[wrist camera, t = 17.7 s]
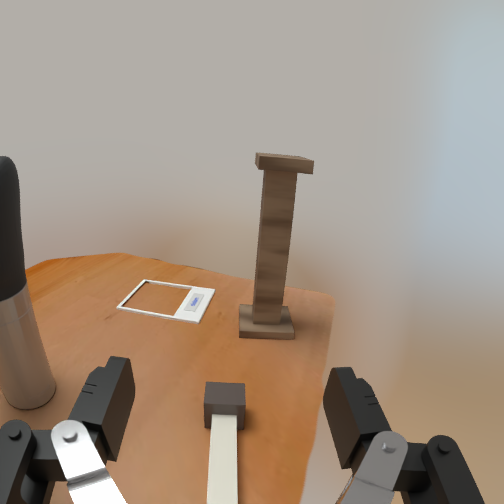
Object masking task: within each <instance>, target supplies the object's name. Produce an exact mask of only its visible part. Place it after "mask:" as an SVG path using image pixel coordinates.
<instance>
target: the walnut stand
mask: <svg viewBox="0 0 504 504" xmlns="http://www.w3.org/2000/svg"><path fill="white" fill-rule="evenodd" d="M255 164H256V166H257V168H258V169H260V170H264V177H263V188H262V200H261V213H260V225H259V237H258V248H257V260H256V272H255V273H256V274H255V284H254V296H253V305H244V304H240V307H239V338H260V339H294V329H293V325H292V321H291V317H290V314H289V310H288V306H282V304H283V296H284V288H285V280H286V272H287V263H288V255H289V247H290V238H291V229H292V220H293V211H294V202H295V192H296V181H297V173H305V174H313V166H314V161H312V160H309V159H306V158H303V157H299V156H288V155H278V154H267V153H256V158H255Z"/></svg>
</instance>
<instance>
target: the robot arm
mask: <svg viewBox="0 0 504 504" xmlns="http://www.w3.org/2000/svg"><path fill="white" fill-rule="evenodd" d="M0 387H1V389H2V391H3V393H4V395H5V397H6V399H7V401H8V402H9V403H10V404H11V405H12V406H14V407H16V408H19V409H34V408H37V407H40V406H42V405H43V404H45V403H46V402H48V401H49V400H50V399H51V397H52V396H53V394H54V392H55V388H56V385H55V381H54V378H53V375H52V372H51V369H50V366H49V363H48V360H47V357H46V354H45V350H44V347H43V344H42V340H41V337H40V333H39V330H38V326H37V322H36V319H35V315H34V311H33V307H32V302H31V298H30V294H29V289H28V284H27V279H26V274H25V266H24V251H23V242H22V232H21V217H20V189H19V179H18V174H17V170H16V167H15V164H14V163H13V161H12V160H11V159H10V158H9V157H6V156H0ZM81 391H82V392H80V395H79V397H78V399H77V401H76V403H75V405H74V407H73V409H72V412H71V414H70V416H69V418H68V420H65V421H62V422H60V423H58V424H57V425H56V426H55V427H54V428H53V429H52V430H31V429H30V427H29V425H28V424H27V423H25V422H24V421H21V420H11V421H8V422H6V423H5V424H4V425H3V426H2V427H1V429H0V504H49V503H50V499H51V496H52V492H53V488H54V485H55V481H68V483H67V487H68V490H69V492H70V494H71V496H72V499H73V501H74V503H75V504H126V502H125V501H124V499H123V497H122V496H121V494H120V492H119V491H118V489H117V487H116V485H115V484H114V482H113V480H112V478H111V477H110V475H109V473H108V471H107V470H106V468H105V466H106V463H107V460H110V461H115V462H116V461H117V457H118V453H119V450H120V446H121V443H122V439H123V435H124V432H125V429H126V425H127V422H128V418H129V415H130V412H131V408H132V405H133V402H134V398H135V383H134V378H133V373H132V367H131V362H130V359H129V358H123V357H115V356H111V357H110V358H109V360H108V362H107V364H106V366H105V367H97V368H96V369H95V370H94V371H92V372H91V373H90V374H89V376H88V378H87V380H86V382H85V385H84V386H83V388H82V390H81ZM323 405H324V410H325V413H326V417H327V420H328V424H329V427H330V430H331V434H332V437H333V441H334V444H335V448H336V451H337V454H338V458H339V461H340V465H341V468H342V469H348V468H351V469H352V472H353V474H352V476H351V477H350V479H349V481H348V483H347V485H346V486H345V488H344V490H343V492H342V493H341V495H340V497H339V498H338V500H337V502H336V503H335V504H390V503H391V501H392V499H393V497H394V491H400V492H401V496H402V499H403V502H404V504H485V503H484V501H483V498H482V496H481V494H480V492H479V489H478V487H477V485H476V483H475V481H474V479H473V476H472V474H471V472H470V470H469V468H468V466H467V464H466V461H465V459H464V457H463V455H462V453H461V451H460V449H459V447H458V445H457V443H456V442H455V441H454V440H453V439H452V438H450V437H448V436H444V435H437V436H435V437H433V438H431V439H430V440H429V442H428V443H427V444H422V443H410V442H407V441H406V440H405V438H404V437H402V436H401V435H400V434H398V433H396V432H393V431H392V430H391V428H390V426H389V424H388V421H387V419H386V417H385V415H384V413H383V411H382V409H381V407H380V405H379V402H378V400H377V398H376V397H375V394H374V392H373V390H372V387H371V386H370V385H369V384H368V383H367V382H366V381H365V380H364V379H362V378H358V379H357V378H356V376H355V374H354V372H353V370H352V368H351V367H339V368H338V367H337V368H332V369H331V372H330V375H329V379H328V382H327V385H326V388H325V392H324V396H323Z"/></svg>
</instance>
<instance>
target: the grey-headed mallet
mask: <svg viewBox="0 0 504 504" xmlns="http://www.w3.org/2000/svg"><path fill="white" fill-rule="evenodd" d="M245 406H246V403H245V384H244V383H220V382H206V387H205V397H204V423H205V428H211V439H210V455H209V472H208V490H207V504H238V496H237V429H240V430H243V428H244V417H245Z"/></svg>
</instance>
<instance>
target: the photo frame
mask: <svg viewBox="0 0 504 504" xmlns="http://www.w3.org/2000/svg"><path fill="white" fill-rule="evenodd" d="M145 281H146V282H149V283H151V284H157V285H164V286H171V287H177V288H184V289H191V290H190V292H189V293H188V295H187V296H186V298H185V300H184V301H183V303H182V304H181V306H180V307H179V309H178V310H177V312H176V313H175V315H174V316H170V315H164V314H159V313H153V312H147V311H142V310H137V309H131V308H126V307H121V306H122V304H123V303H124V302H125V301H126V300H127V299H128V298H129V297H130V296H131V295H132V294H133V293H134V292H135V291H136V290H137V289H138V288H139V287H140V286H141V285H142V284H143V283H144V282H145ZM214 293H215V289H209V288H201V287H194V286H187V285H179V284H172V283H165V282H159V281H152V280H145V279H144V280H143V281H142V282H141V283H140V284H139V285H138V286H137V287H136V288H135V289H134V290H133V291H132V292H131V293H130V294H129V295H128V296H127V297H126V298H125V299H124V300H123V301H122V302H121V303H120V304H119V305H118V306H117V309H118V310H123V311H128V312H133V313H138V314H143V315H148V316H154V317H159V318H165V319H171V320H176V321H182V322H188V323H195V324H199V323H200V321H201V319H202V317H203V315H204V313H205V311H206V309H207V307H208V305H209V303H210V301H211V299H212V297H213V295H214Z"/></svg>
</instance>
